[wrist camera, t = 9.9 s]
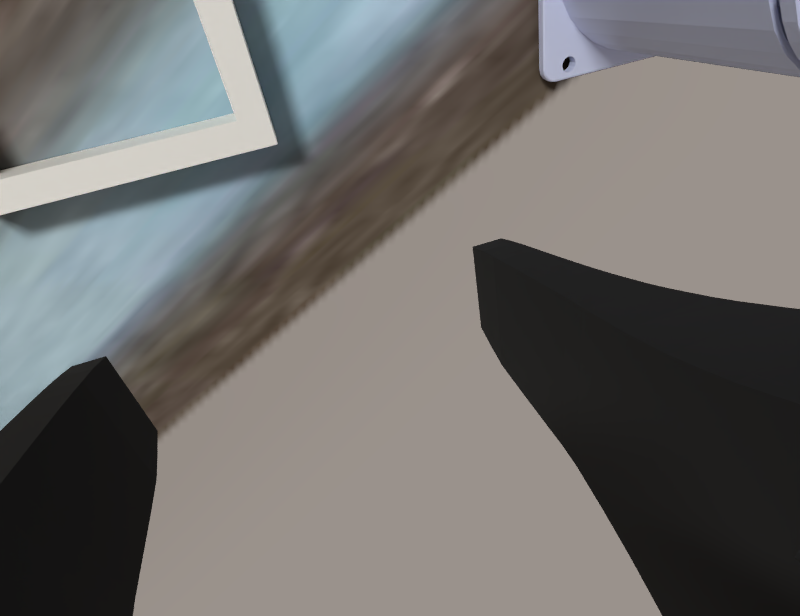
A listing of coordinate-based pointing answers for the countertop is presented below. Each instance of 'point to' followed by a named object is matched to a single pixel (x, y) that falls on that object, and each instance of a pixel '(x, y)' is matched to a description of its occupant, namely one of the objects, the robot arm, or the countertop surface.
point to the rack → (164, 147)
